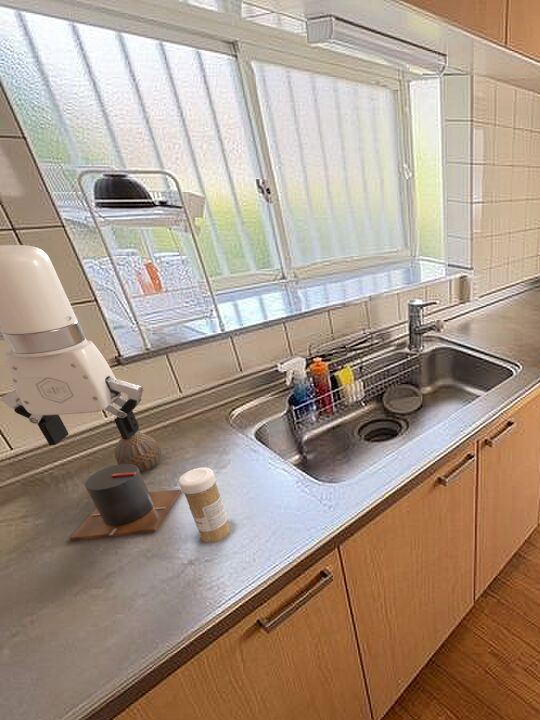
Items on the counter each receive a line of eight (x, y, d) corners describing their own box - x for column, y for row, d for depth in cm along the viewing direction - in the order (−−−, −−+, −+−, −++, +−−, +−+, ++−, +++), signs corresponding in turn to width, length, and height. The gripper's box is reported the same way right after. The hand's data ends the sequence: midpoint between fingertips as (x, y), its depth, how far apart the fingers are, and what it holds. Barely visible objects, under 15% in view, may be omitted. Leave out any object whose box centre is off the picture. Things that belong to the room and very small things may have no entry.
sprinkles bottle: (197, 538, 72) (172, 477, 66) (225, 522, 75) (204, 462, 69) (209, 551, 70) (185, 489, 64) (238, 534, 73) (218, 473, 67)
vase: (158, 453, 91) (144, 419, 87) (170, 466, 88) (157, 431, 84) (117, 468, 86) (101, 433, 82) (129, 483, 83) (112, 446, 79)
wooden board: (70, 546, 69) (66, 539, 68) (111, 500, 78) (107, 493, 78) (155, 537, 72) (152, 530, 71) (184, 493, 81) (182, 486, 80)
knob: (94, 528, 71) (73, 490, 67) (118, 500, 77) (100, 464, 73) (141, 523, 72) (123, 486, 68) (161, 496, 78) (145, 460, 74)
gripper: (-56, 350, 54) (10, 457, 62) (102, 345, 58) (146, 446, 66) (-7, 330, 61) (48, 429, 68) (132, 326, 64) (169, 420, 72)
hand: (96, 437), depth 67 cm, fingers open, 9 cm apart
